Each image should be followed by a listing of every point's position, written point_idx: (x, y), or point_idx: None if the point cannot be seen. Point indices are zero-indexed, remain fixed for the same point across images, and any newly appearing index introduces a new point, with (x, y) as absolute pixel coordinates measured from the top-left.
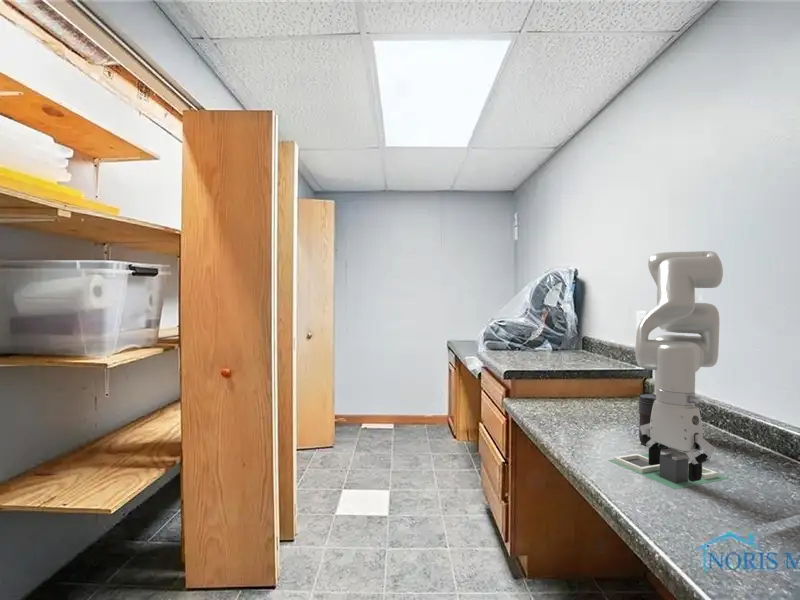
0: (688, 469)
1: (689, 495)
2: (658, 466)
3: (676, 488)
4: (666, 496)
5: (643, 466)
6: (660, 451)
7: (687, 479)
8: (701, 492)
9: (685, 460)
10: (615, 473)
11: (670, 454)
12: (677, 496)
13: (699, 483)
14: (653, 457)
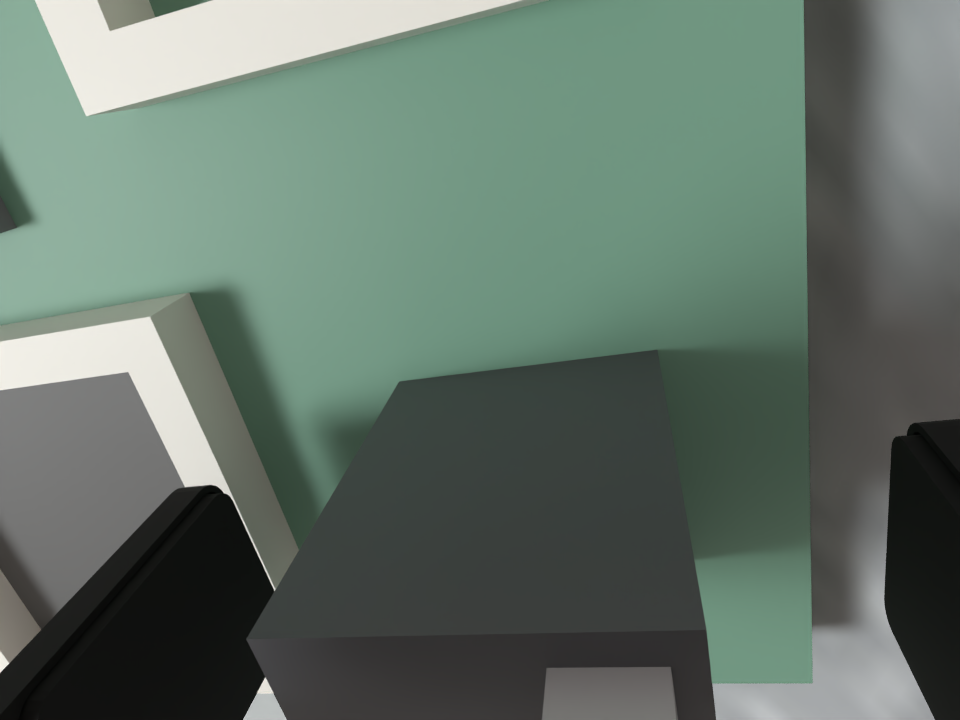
0: (334, 52)
1: (868, 509)
2: (217, 450)
3: (801, 656)
4: (793, 712)
5: None
6: (82, 659)
7: (658, 371)
8: (865, 293)
9: (709, 694)
10: (255, 710)
11: (321, 712)
12: (834, 633)
13: (783, 243)
14: (223, 708)
